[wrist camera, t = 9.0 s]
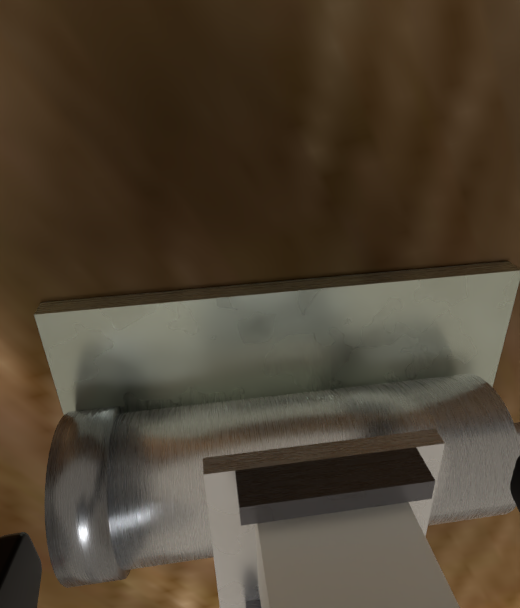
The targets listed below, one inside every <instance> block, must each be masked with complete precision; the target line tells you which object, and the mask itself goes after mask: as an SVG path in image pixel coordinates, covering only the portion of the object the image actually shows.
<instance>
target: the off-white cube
mask: <svg viewBox="0 0 520 608" xmlns="http://www.w3.org/2000/svg"><path fill="white" fill-rule="evenodd" d="M255 532H256V550H257V568H258V586H259V595H260V603H261V608H460V607H459V605H458V603H457V601H456V599H455V597H454V595H453V593H452V591H451V589H450V587H449V584H448V582H447V580H446V578H445V576H444V574H443V572H442V570H441V568H440V566H439V564H438V562H437V560H436V558H435V556H434V554H433V552H432V550H431V547H430V545H429V543H428V541H427V539H426V537H425V535H424V533H423V531H422V529H421V527H420V525H419V523H418V521H417V519H416V517H415V515H414V513H413V511H412V508H411V506H410V504H409V502H405V503H398V504H391V505H384V506H377V507H370V508H363V509H356V510H349V511H342V512H335V513H327V514H320V515H313V516H306V517H299V518H292V519H285V520H278V521H271V522H264V523H257V524H255Z"/></svg>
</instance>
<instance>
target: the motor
mask: <svg viewBox="0 0 520 608" xmlns="http://www.w3.org/2000/svg"><path fill="white" fill-rule="evenodd" d="M519 281H520V269H519V268H518V267H517V266H515V265H514V264H512V263H511V262H509V261H503V262H492V263H481V264H469V265H458V266H447V267H436V268H424V269H413V270H402V271H390V272H379V273H368V274H356V275H345V276H334V277H322V278H311V279H300V280H288V281H277V282H266V283H255V284H243V285H232V286H221V287H209V288H198V289H187V290H175V291H164V292H153V293H141V294H130V295H119V296H107V297H96V298H85V299H74V300H62V301H51V302H41V303H40V305H39V307H38V308H37V310H36V312H35V314H34V316H35V320H36V323H37V327H38V330H39V333H40V337H41V340H42V343H43V347H44V350H45V353H46V357H47V360H48V364H49V367H50V370H51V374H52V377H53V380H54V384H55V387H56V390H57V394H58V397H59V401H60V404H61V407H62V411H63V414H64V416H63V417H62V418H61V420H60V422H59V423H58V425H57V428H56V430H55V433H54V436H53V440H52V443H51V448H50V452H49V458H48V464H47V473H46V484H45V525H46V536H47V544H48V550H49V555H50V560H51V564H52V567H53V570H54V573H55V575H56V577H57V579H58V580H59V582H60V583H61V584H62V585H63V586H64V587H67V588H68V587H75V586H82V585H89V584H95V583H102V582H109V581H115V580H122V579H125V578H126V577H127V576H128V574H129V572H130V570H131V569H136V568H143V567H149V566H156V565H163V564H170V563H177V562H183V561H190V560H197V559H204V558H211V557H214V563H215V571H216V579H217V587H218V596H219V604H220V608H261V603H260V595H259V586H258V568H257V550H256V532H255V524H257V523H264V522H271V521H278V520H285V519H292V518H299V517H306V516H313V515H320V514H327V513H335V512H342V511H349V510H356V509H363V508H370V507H377V506H384V505H391V504H398V503H405V502H409V504H410V506H411V508H412V511H413V513H414V515H415V517H416V519H417V521H418V523H419V525H420V527H421V529H422V531H423V533H424V535H425V536H426V532H427V527H428V525H435V524H442V523H448V522H455V521H462V520H469V519H476V518H482V517H489V516H496V515H503V514H507V513H509V512H511V511H512V510H513V509H514V508H515V507H516V504H515V502H514V500H513V497H512V495H511V491H510V482H511V478H512V475H513V471H514V467H515V463H516V460H517V458H518V457H519V456H520V422H518V423H513V420H512V418H511V416H510V414H509V412H508V410H507V408H506V406H505V404H504V402H503V401H502V399H501V398H500V396H499V395H498V394H497V392H496V391H495V390H494V389H493V383H494V379H495V375H496V371H497V367H498V363H499V359H500V355H501V352H502V348H503V344H504V340H505V336H506V332H507V328H508V324H509V320H510V316H511V312H512V308H513V304H514V301H515V297H516V293H517V289H518V285H519Z"/></svg>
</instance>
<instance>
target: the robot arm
mask: <svg viewBox="0 0 520 608" xmlns="http://www.w3.org/2000/svg"><path fill="white" fill-rule="evenodd" d="M510 491H511V495H512V497H513V500H514V502H515V504H516V506H517V508H518V510H519V512H520V456H519V457H518V458H517V460H516V463H515V467H514V471H513V475H512V478H511V482H510ZM41 572H42V568H41V561H40V558H39V556H38V554H37V552H36V550H35V547H34V545H33V543H32V541H31V539H30V537H29V535H28V534H26V533H25V532H21V533H14V534H8V535H4V536H2V537H0V608H37V603H38V595H39V588H40V581H41Z"/></svg>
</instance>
